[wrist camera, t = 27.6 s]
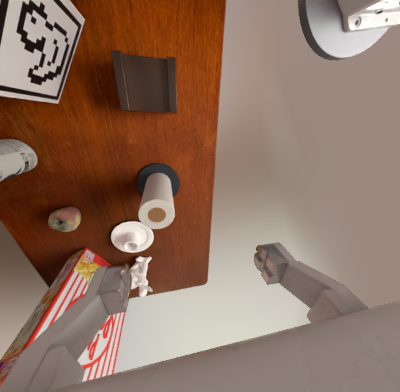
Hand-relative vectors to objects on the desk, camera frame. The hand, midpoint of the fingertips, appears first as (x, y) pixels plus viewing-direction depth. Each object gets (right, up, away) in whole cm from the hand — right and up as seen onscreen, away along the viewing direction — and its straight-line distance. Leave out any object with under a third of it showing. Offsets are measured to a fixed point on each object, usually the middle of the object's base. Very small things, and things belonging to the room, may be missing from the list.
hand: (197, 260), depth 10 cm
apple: (-33, 0, +31) cm, 45 cm away
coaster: (-11, +7, +32) cm, 35 cm away
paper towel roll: (-9, +4, +25) cm, 27 cm away
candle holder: (-20, -8, +38) cm, 44 cm away
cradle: (-10, +26, +23) cm, 36 cm away
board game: (-32, -20, +41) cm, 55 cm away
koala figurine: (-20, -18, +43) cm, 51 cm away
